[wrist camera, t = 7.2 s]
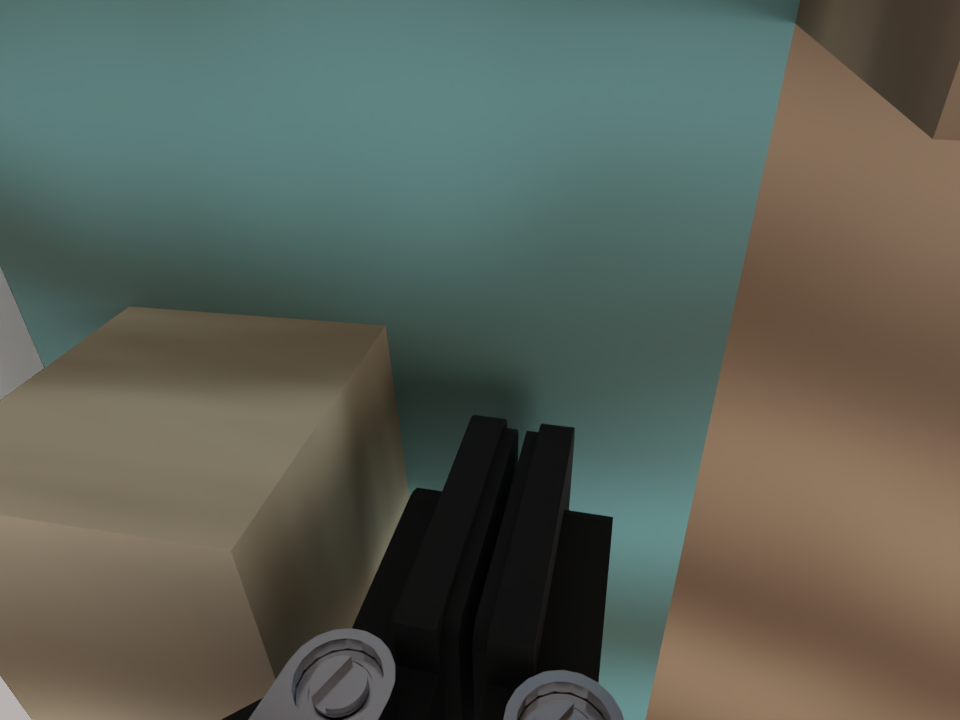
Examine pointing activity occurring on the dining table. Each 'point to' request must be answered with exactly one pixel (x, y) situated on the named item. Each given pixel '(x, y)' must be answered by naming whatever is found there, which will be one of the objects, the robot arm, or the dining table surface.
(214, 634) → the birch block
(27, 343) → the dining table surface
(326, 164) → the cubby
